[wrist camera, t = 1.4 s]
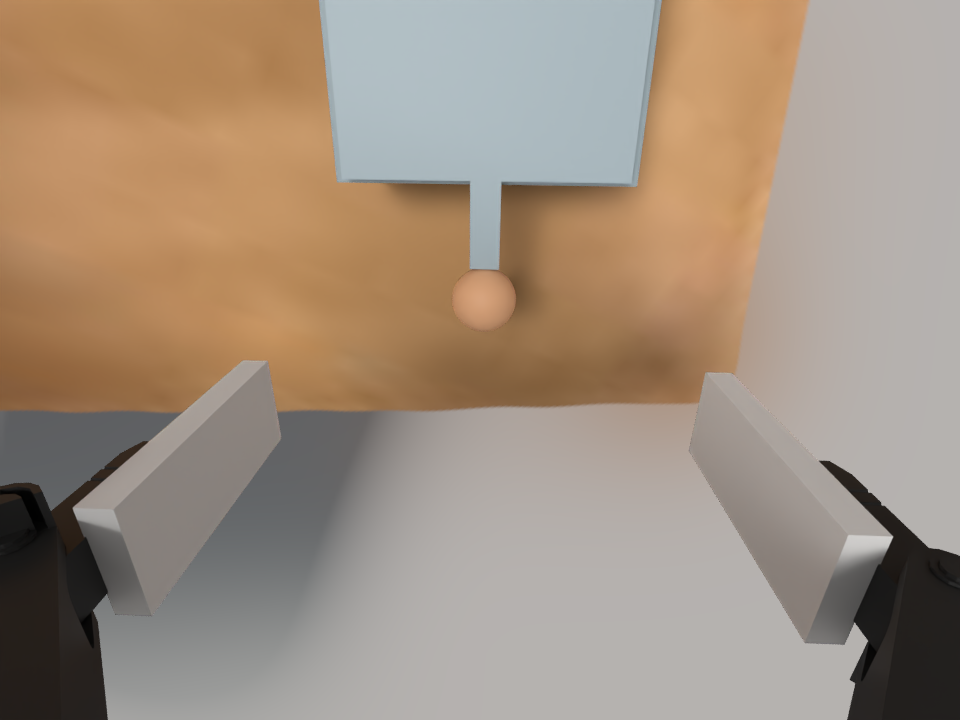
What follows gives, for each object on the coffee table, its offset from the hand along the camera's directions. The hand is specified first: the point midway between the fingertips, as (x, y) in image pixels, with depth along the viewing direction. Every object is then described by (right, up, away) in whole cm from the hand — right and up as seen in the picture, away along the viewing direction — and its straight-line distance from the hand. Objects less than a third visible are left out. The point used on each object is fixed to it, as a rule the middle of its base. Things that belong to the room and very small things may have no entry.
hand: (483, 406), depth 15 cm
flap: (0, +13, +8) cm, 15 cm away
